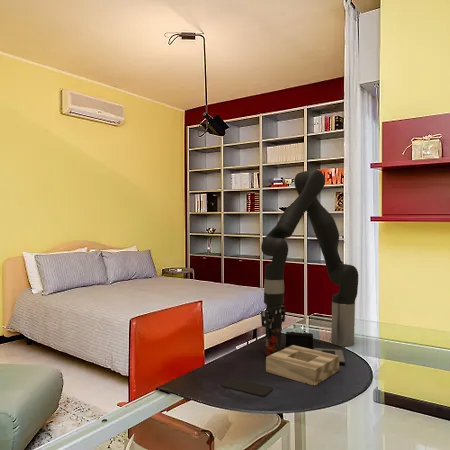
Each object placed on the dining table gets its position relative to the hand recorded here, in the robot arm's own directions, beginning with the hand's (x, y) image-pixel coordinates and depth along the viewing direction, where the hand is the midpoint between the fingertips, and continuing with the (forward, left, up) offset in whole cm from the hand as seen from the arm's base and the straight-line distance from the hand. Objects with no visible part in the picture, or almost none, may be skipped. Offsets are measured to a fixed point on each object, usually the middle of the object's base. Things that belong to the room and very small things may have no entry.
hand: (273, 335), depth 155 cm
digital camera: (-12, +4, -8) cm, 15 cm away
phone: (+30, +10, -8) cm, 33 cm away
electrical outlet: (-12, +17, -8) cm, 22 cm away
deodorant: (0, 0, -7) cm, 7 cm away
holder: (+6, +16, -8) cm, 19 cm away
